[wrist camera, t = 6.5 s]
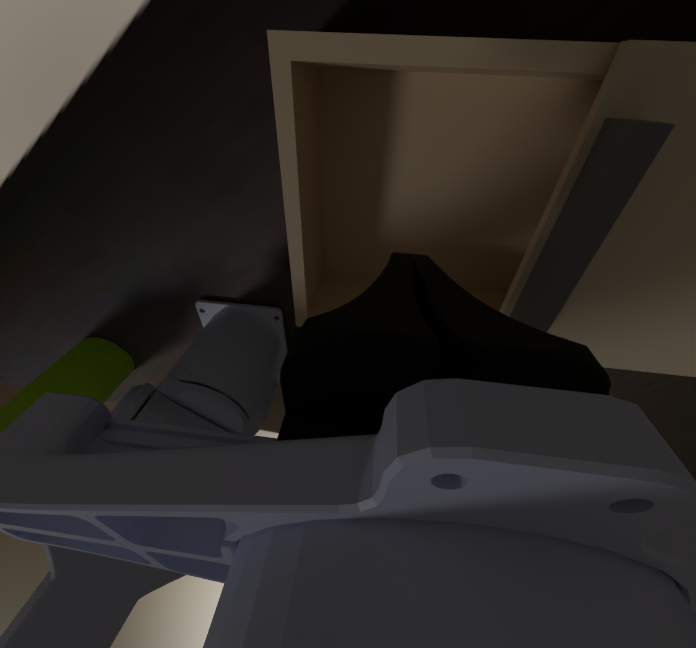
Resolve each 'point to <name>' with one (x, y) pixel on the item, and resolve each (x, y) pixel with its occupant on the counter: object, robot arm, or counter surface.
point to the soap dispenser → (75, 376)
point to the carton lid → (623, 221)
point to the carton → (421, 152)
